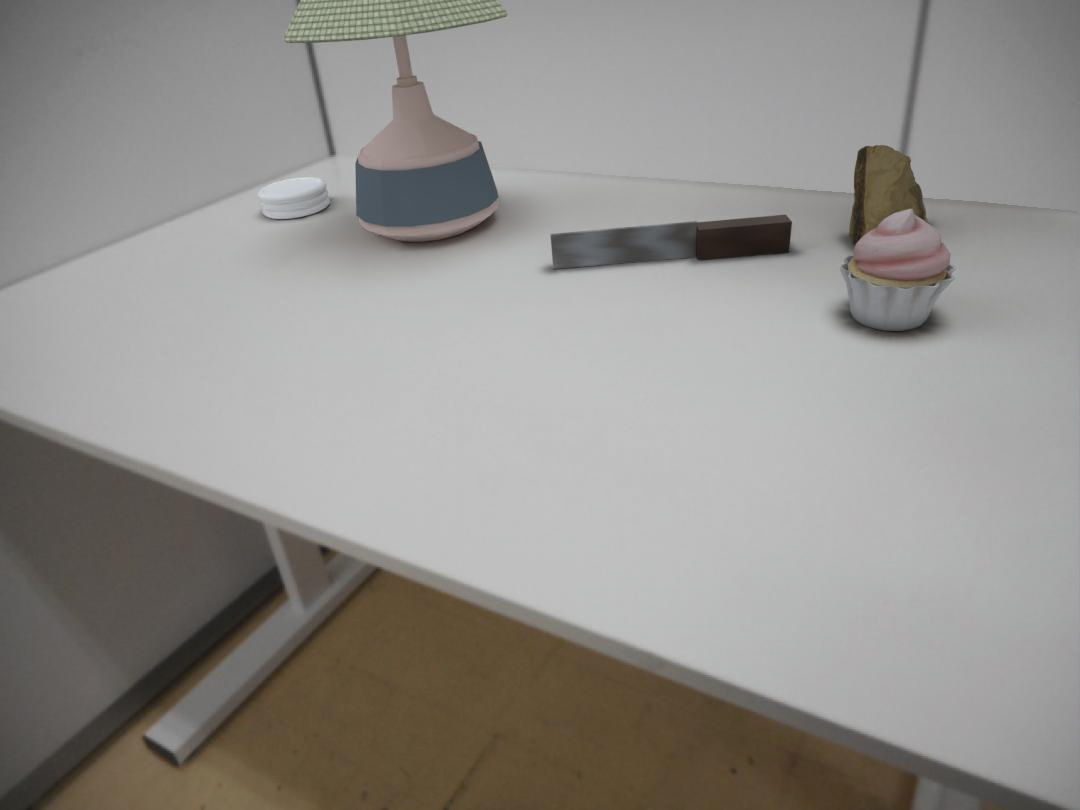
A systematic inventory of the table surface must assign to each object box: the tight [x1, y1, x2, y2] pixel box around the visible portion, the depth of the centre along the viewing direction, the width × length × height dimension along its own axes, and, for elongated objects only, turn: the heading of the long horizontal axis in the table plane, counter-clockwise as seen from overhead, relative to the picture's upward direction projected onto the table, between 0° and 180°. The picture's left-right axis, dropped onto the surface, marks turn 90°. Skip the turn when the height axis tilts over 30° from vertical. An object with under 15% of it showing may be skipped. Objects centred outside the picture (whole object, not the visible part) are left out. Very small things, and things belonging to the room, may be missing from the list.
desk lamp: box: [282, 0, 509, 243], centre depth 89 cm, size 26×28×42 cm
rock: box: [848, 144, 928, 246], centre depth 81 cm, size 11×9×10 cm
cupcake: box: [839, 209, 957, 332], centre depth 65 cm, size 9×9×10 cm
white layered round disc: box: [257, 176, 331, 220], centre depth 111 cm, size 10×10×4 cm
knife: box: [550, 214, 793, 270], centre depth 82 cm, size 26×2×4 cm, turn 90°
